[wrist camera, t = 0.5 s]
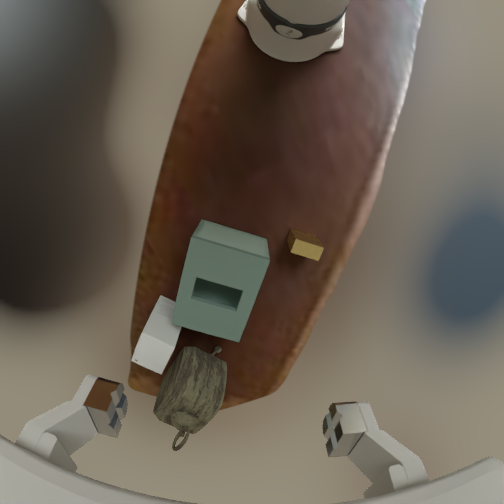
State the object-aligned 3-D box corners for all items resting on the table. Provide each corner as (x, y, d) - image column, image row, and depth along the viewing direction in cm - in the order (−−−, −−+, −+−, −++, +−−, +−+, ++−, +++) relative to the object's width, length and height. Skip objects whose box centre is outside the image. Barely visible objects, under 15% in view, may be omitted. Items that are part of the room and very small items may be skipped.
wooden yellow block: (291, 227, 52) (295, 238, 47) (316, 236, 53) (324, 247, 47) (286, 240, 53) (290, 252, 47) (311, 248, 54) (318, 260, 48)
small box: (175, 334, 61) (161, 375, 49) (149, 321, 60) (130, 361, 47) (189, 307, 58) (175, 348, 46) (160, 293, 57) (141, 331, 45)
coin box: (201, 219, 51) (191, 237, 42) (266, 238, 53) (270, 260, 43) (182, 294, 57) (171, 323, 48) (240, 311, 58) (238, 342, 49)
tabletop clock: (199, 381, 66) (184, 467, 43) (166, 364, 64) (140, 450, 41) (229, 344, 62) (221, 441, 38) (192, 325, 60) (167, 420, 36)
